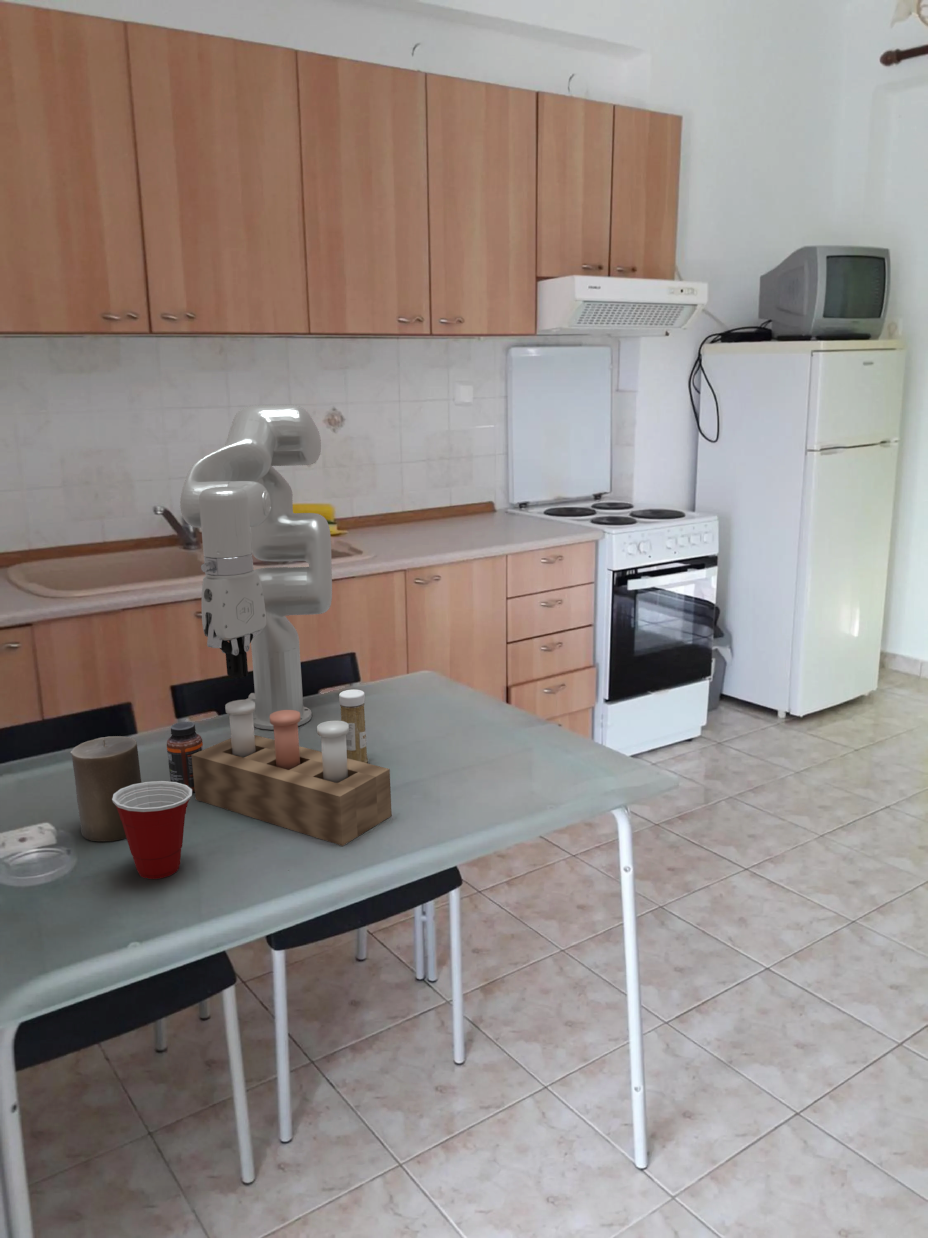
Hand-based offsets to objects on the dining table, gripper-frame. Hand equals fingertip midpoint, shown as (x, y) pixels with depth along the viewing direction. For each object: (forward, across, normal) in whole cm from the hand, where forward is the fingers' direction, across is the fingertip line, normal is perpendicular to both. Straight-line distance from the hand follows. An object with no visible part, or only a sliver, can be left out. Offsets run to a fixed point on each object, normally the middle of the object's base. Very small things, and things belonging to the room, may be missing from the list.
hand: (237, 675), depth 160 cm
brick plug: (+15, 0, -10) cm, 18 cm away
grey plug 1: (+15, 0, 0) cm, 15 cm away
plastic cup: (+21, -25, -8) cm, 34 cm away
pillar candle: (+21, -20, +9) cm, 31 cm away
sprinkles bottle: (+21, +20, -7) cm, 30 cm away
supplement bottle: (+21, -3, +11) cm, 24 cm away
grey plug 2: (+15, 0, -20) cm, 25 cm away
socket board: (+21, 0, -10) cm, 23 cm away
